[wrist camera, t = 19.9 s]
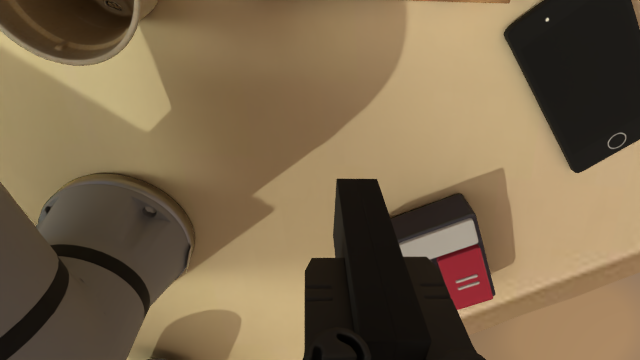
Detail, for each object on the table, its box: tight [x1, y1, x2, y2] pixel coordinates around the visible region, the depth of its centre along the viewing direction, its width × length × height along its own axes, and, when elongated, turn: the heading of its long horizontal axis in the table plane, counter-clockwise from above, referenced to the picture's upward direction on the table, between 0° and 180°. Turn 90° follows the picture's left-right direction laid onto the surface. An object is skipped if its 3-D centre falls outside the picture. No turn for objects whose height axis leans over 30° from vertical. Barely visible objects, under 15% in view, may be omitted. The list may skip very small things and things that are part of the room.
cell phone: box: [504, 0, 640, 173], centre depth 31 cm, size 9×18×1 cm, turn 40°
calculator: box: [391, 194, 495, 310], centre depth 41 cm, size 11×4×15 cm
